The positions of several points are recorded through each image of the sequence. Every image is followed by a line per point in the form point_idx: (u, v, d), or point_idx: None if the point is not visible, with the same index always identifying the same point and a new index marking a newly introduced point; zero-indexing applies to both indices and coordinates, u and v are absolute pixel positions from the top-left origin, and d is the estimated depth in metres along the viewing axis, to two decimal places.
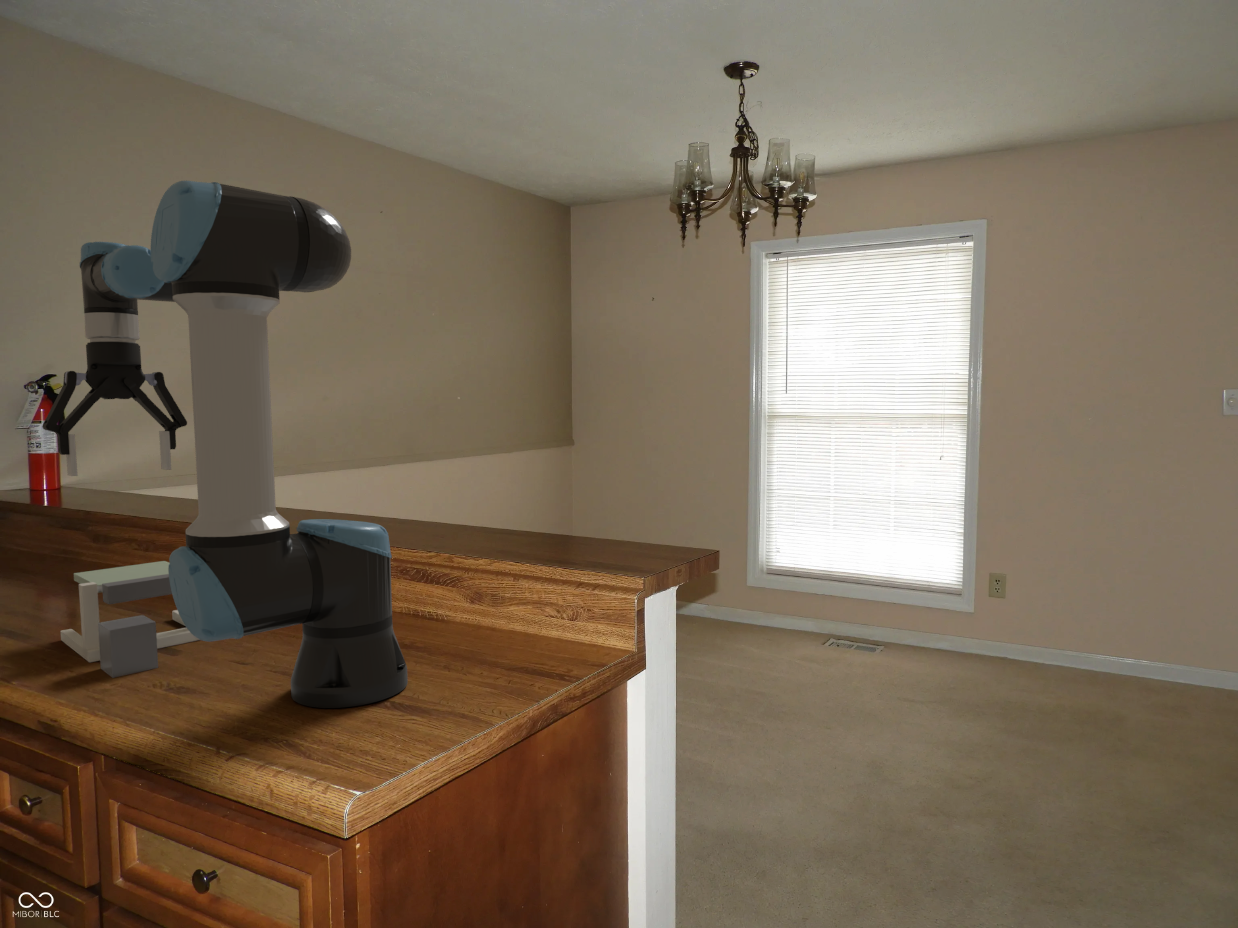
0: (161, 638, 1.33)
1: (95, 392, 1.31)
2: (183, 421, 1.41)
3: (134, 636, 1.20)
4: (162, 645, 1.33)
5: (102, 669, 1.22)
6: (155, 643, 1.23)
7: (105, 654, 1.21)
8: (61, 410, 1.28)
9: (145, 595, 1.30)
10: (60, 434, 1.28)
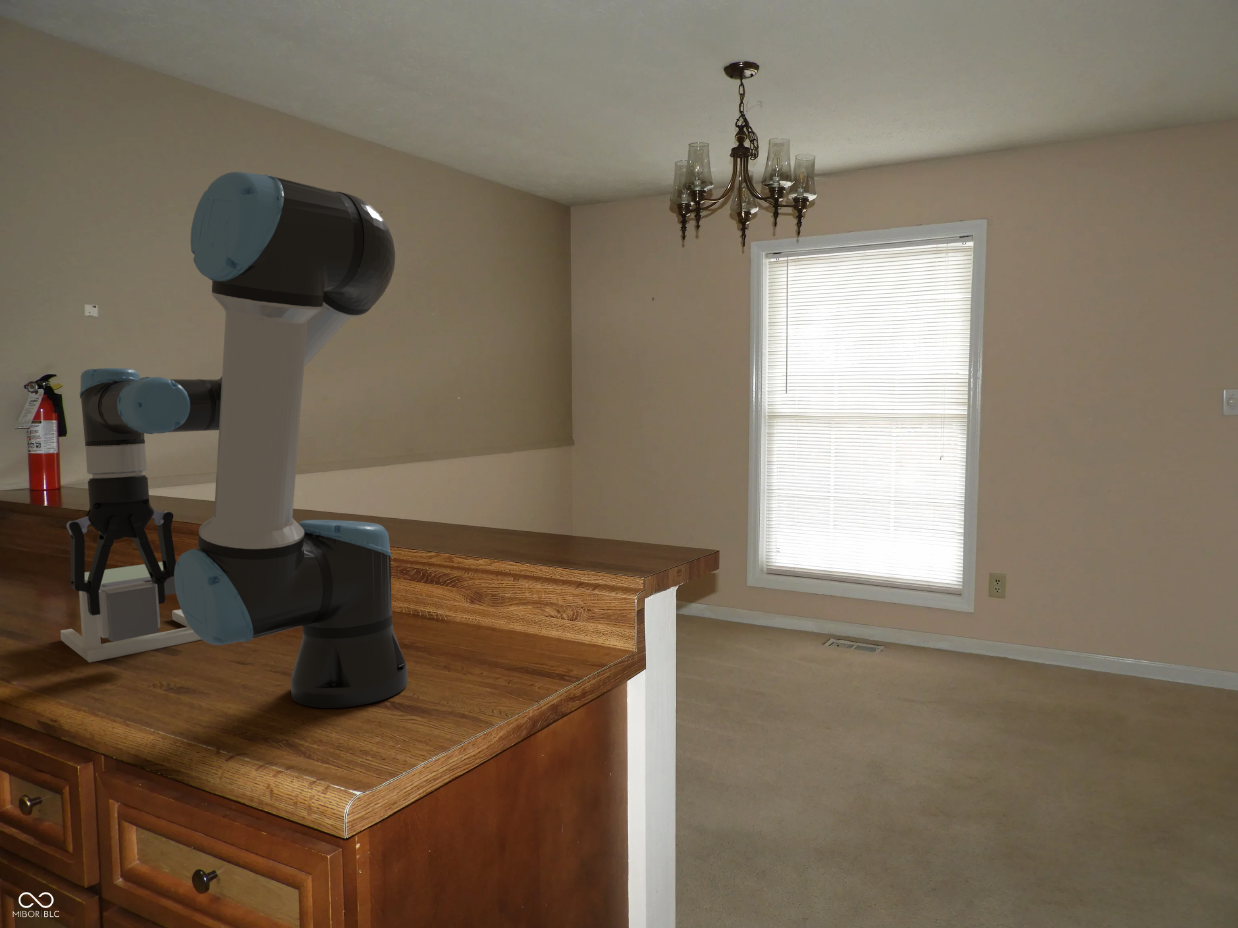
0: (161, 638, 1.33)
1: (106, 538, 1.18)
2: (173, 571, 1.25)
3: (134, 600, 1.20)
4: (162, 645, 1.33)
5: None
6: (155, 607, 1.22)
7: None
8: (82, 566, 1.17)
9: None
10: (90, 593, 1.18)
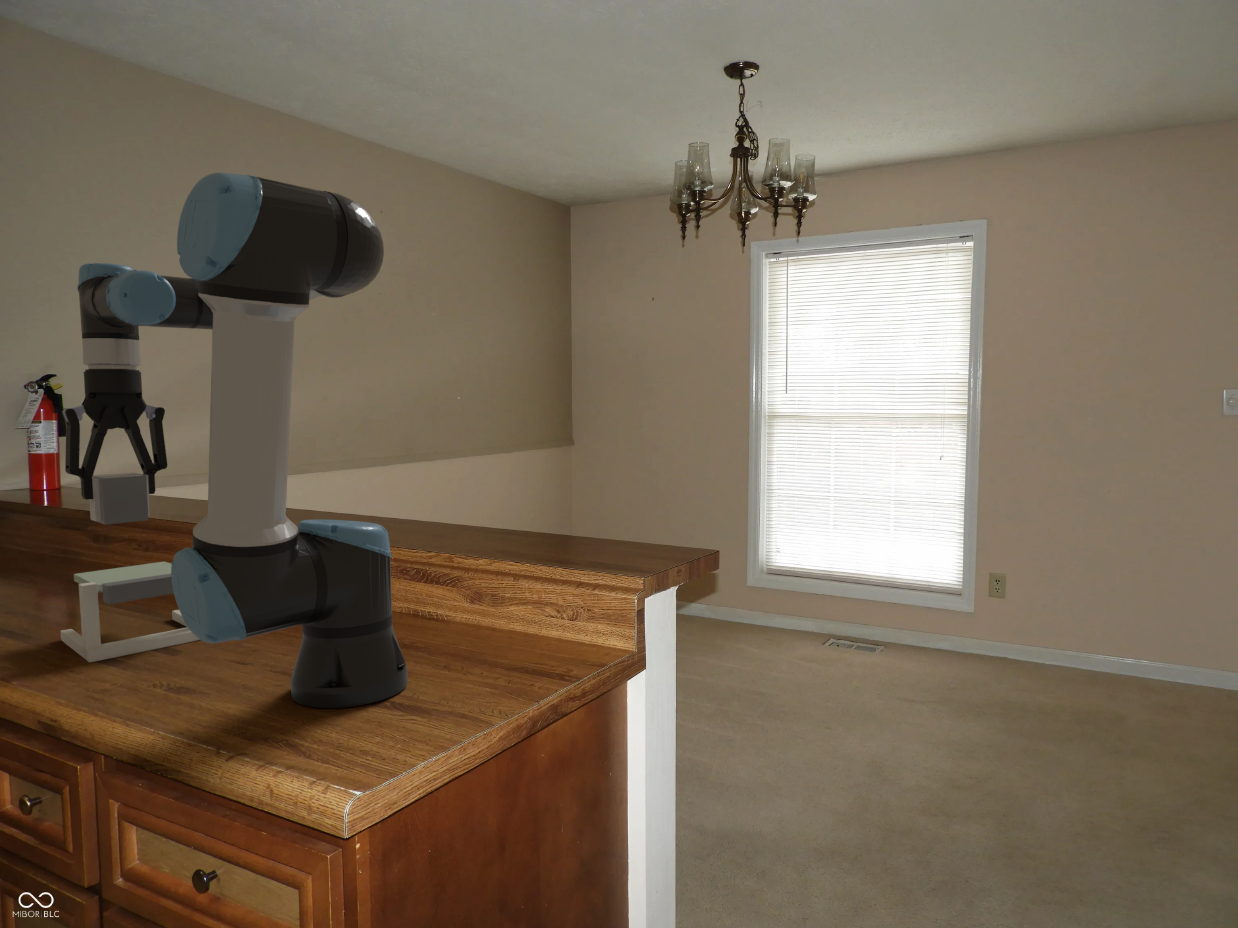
0: (161, 638, 1.33)
1: (100, 426, 1.24)
2: (164, 464, 1.31)
3: (125, 487, 1.26)
4: (162, 645, 1.33)
5: None
6: (145, 496, 1.28)
7: None
8: (77, 451, 1.23)
9: (145, 595, 1.30)
10: (84, 478, 1.24)
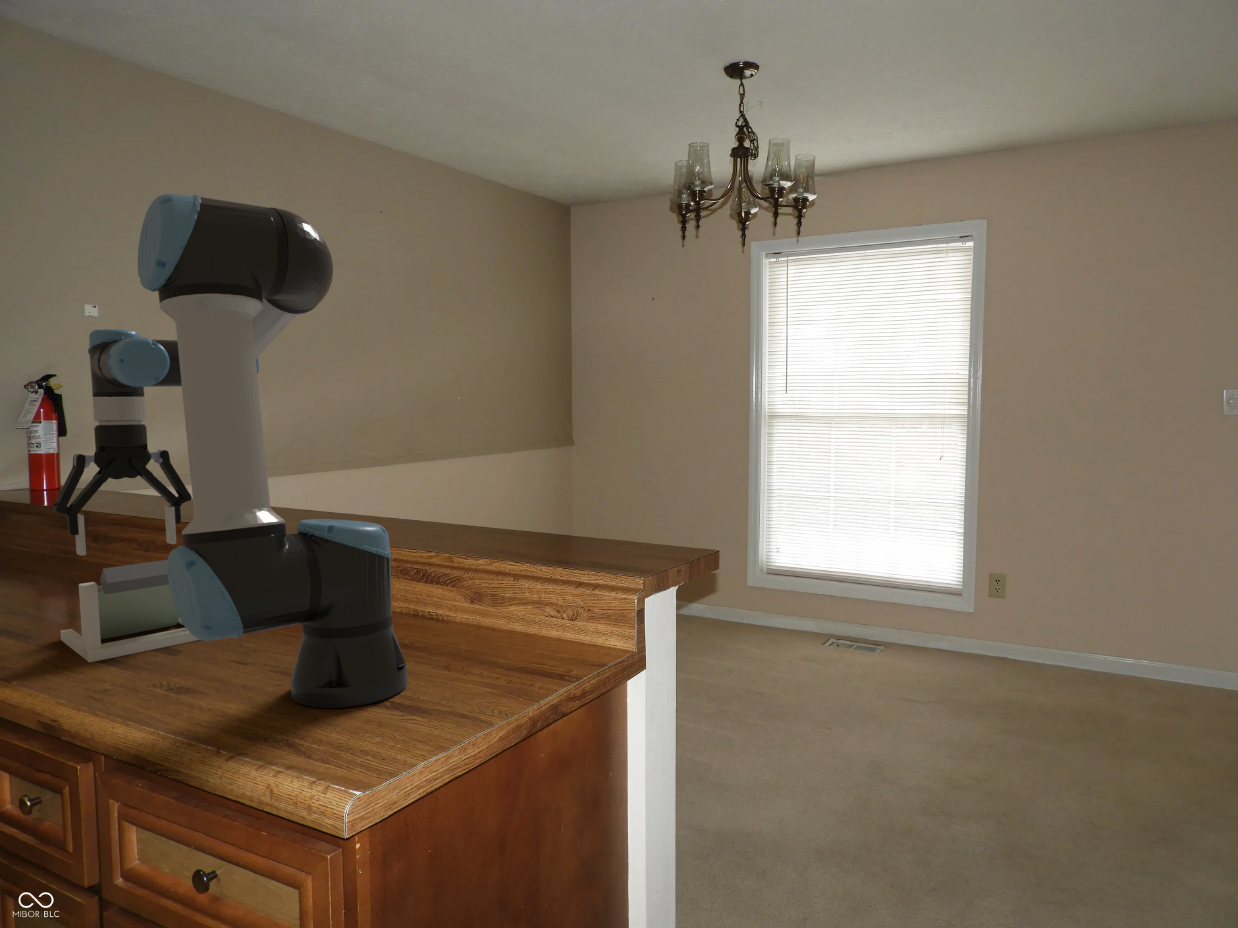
0: (161, 638, 1.33)
1: (103, 474, 1.35)
2: (188, 496, 1.45)
3: None
4: (162, 645, 1.33)
5: None
6: None
7: None
8: (70, 493, 1.33)
9: (143, 575, 1.30)
10: (69, 515, 1.33)
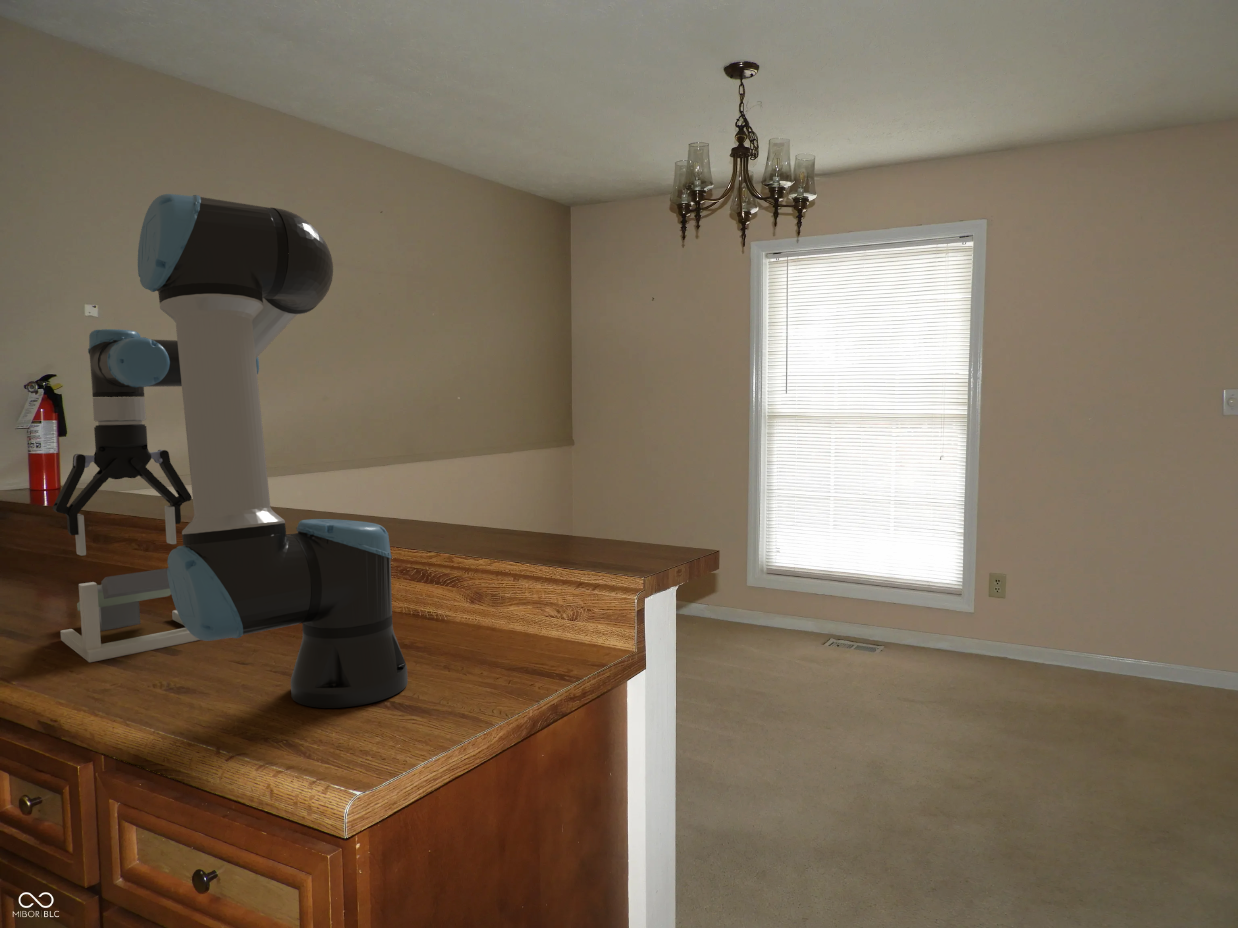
0: (161, 638, 1.33)
1: (103, 474, 1.35)
2: (188, 496, 1.45)
3: None
4: (162, 645, 1.33)
5: None
6: None
7: None
8: (70, 493, 1.33)
9: (145, 586, 1.30)
10: (69, 515, 1.33)
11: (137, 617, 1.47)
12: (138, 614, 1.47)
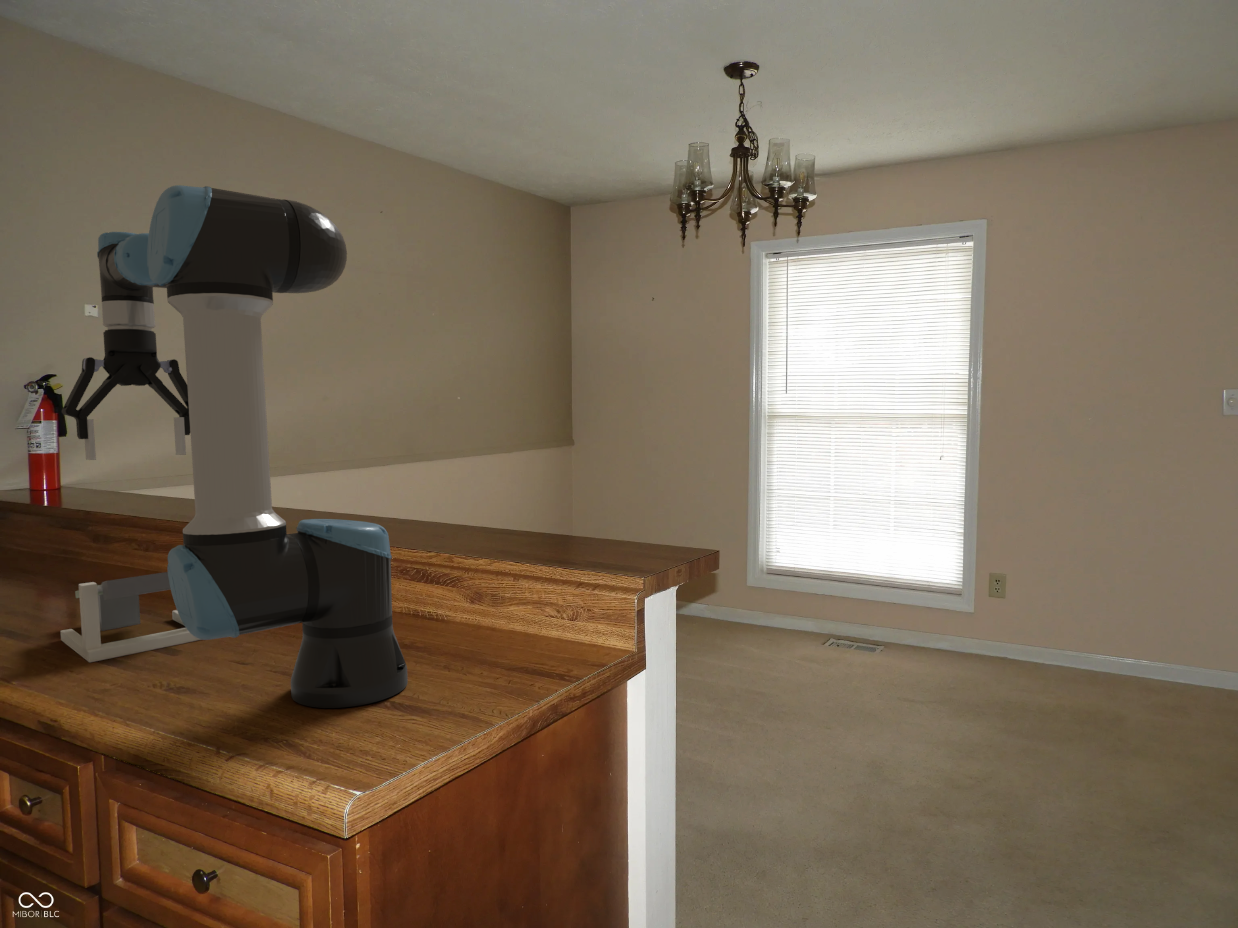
0: (161, 638, 1.33)
1: (113, 378, 1.34)
2: None
3: None
4: (162, 645, 1.33)
5: None
6: None
7: None
8: (80, 395, 1.31)
9: (145, 590, 1.30)
10: (79, 419, 1.32)
11: (137, 617, 1.47)
12: (138, 614, 1.47)
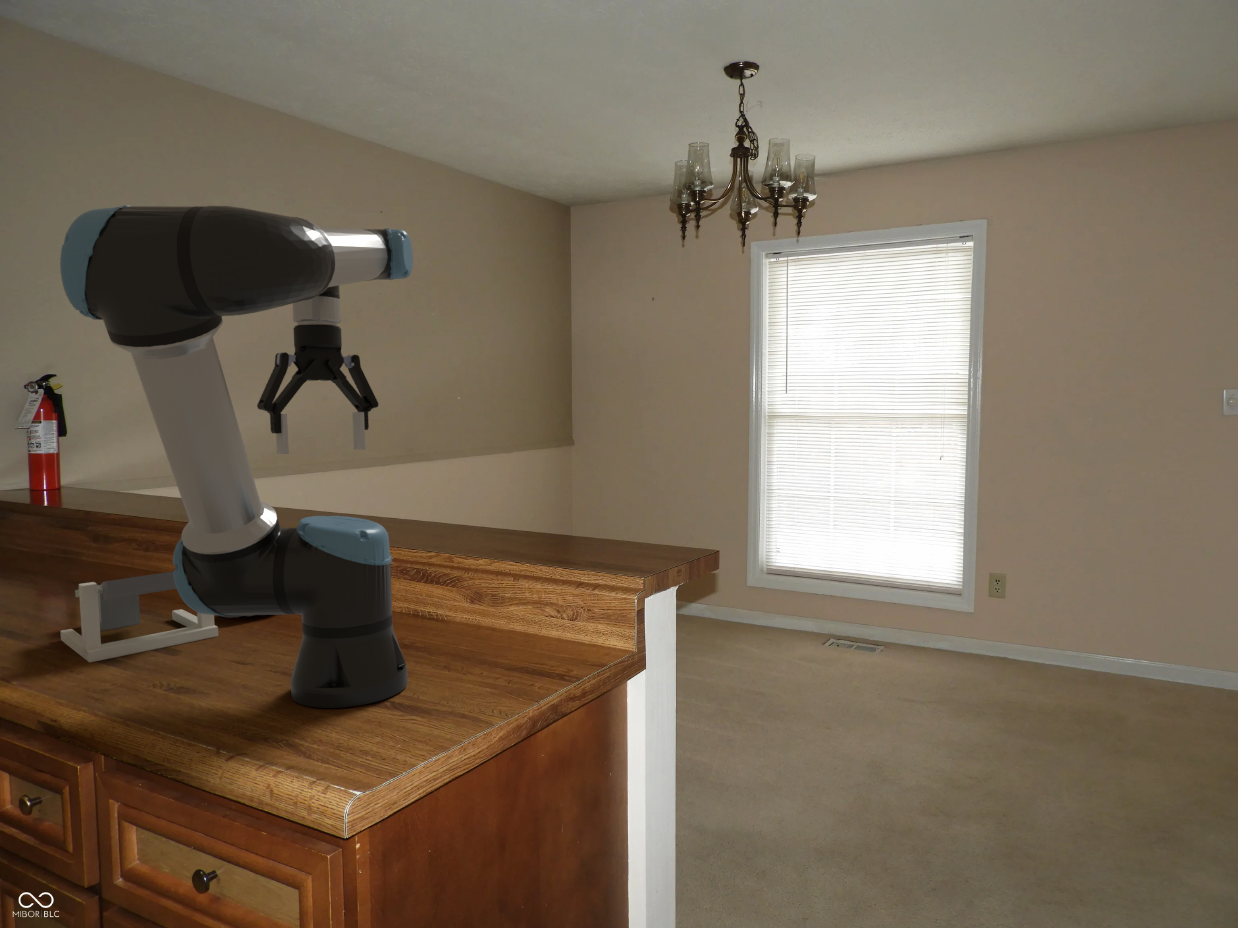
0: (161, 638, 1.33)
1: (304, 373, 1.35)
2: (375, 402, 1.45)
3: None
4: (162, 645, 1.33)
5: None
6: None
7: None
8: (276, 390, 1.32)
9: (145, 590, 1.30)
10: (274, 413, 1.33)
11: (137, 617, 1.47)
12: (138, 614, 1.47)
